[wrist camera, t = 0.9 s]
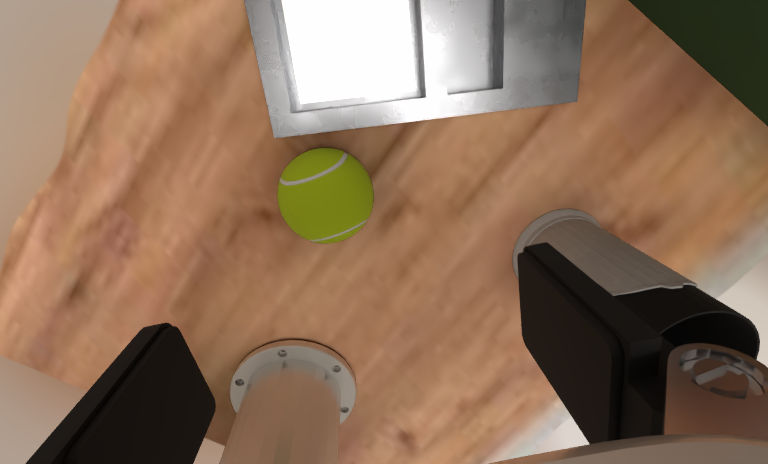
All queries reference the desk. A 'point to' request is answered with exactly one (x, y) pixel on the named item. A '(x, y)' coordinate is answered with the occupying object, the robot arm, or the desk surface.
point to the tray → (411, 59)
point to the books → (721, 42)
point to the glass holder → (641, 283)
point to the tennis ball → (325, 195)
